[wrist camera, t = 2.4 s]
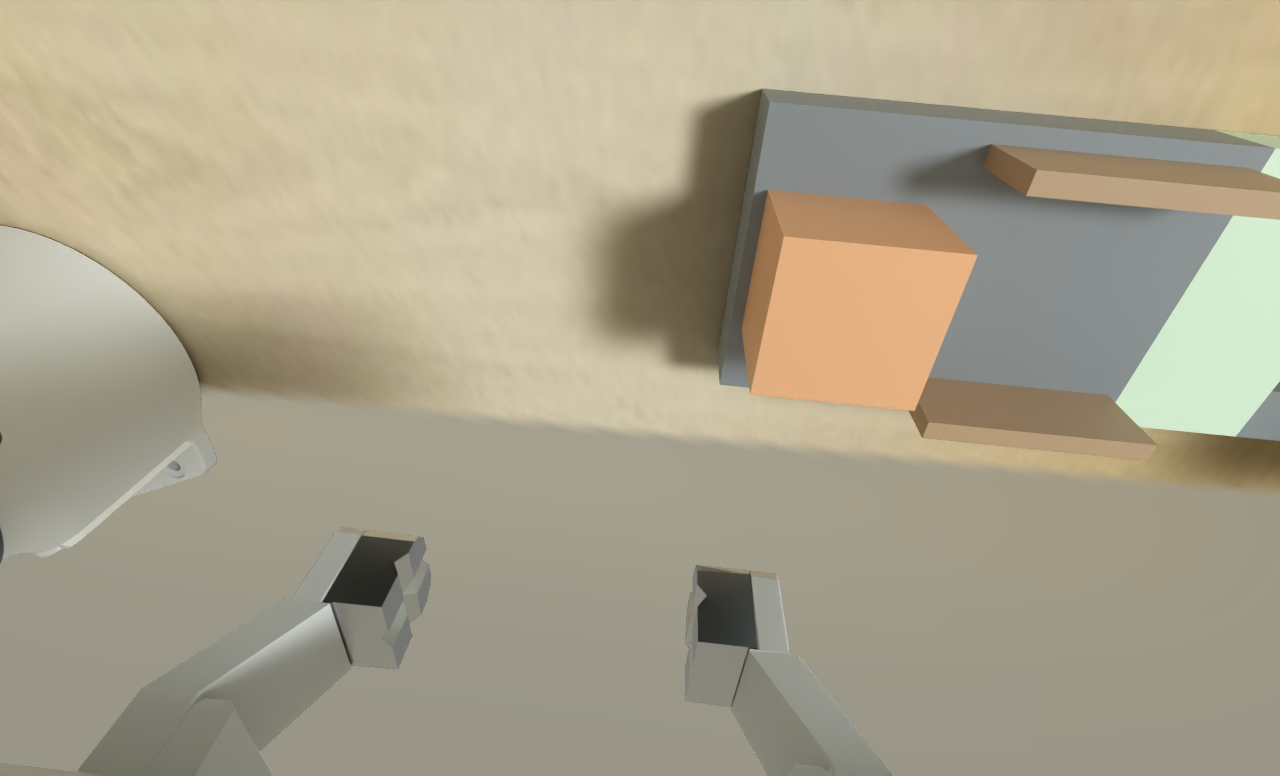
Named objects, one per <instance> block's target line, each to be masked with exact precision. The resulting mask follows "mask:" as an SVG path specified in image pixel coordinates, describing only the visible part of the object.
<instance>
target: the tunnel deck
mask: <svg viewBox="0 0 1280 776" xmlns="http://www.w3.org/2000/svg"><path fill="white" fill-rule="evenodd" d="M768 190H775V191H785V192H796V193H806V194H817V195H827V196H838V197H848V198H859V199H870V200H880V201H891V202H901V203H912V204H922V205H927V206H928V207H929V208H930V209H931V210H932V211H933V212H934V213H935V214H936V215H938V216H939V217H940V218H941V219H942V220H943V221H944V222H945V223H946V224H947V225H948V226H949V227H950V228H951V229H952V230H953V231H954V232H955V233H956V234H957V235H958V236H959V237H960V238H961V239H962V240H963V241H964V242H965V243H966V244H967V245H968V246H969V247H970V248H971V249H972V250H973V251H974V252H975V253H976V254H977V255H978V256H977V259H976V261H975V264H974V266H973V268H972V271H971V273H970V276H969V278H968V281H967V283H966V286H965V288H964V291H963V293H962V296H961V298H960V300H959V303H958V305H957V308H956V310H955V313H954V315H953V318H952V320H951V323H950V325H949V328H948V330H947V332H946V335H945V337H944V340H943V342H942V345H941V347H940V350H939V352H938V355H937V357H936V360H935V362H934V364H933V367H932V369H931V372H930V374H929V377H928V379H927V382H926V384H925V387H924V389H923V392H922V394H921V396H920V399H919V401H918V404H917V406H916V409H915V411H911V410H909V412H910V414H911V416H912V418H913V420H914V422H915V424H916V426H917V428H918V430H919V432H920V434H921V436H922V438H928V439H937V440H947V441H957V442H967V443H977V444H986V445H996V446H1006V447H1016V448H1026V449H1036V450H1045V451H1055V452H1065V453H1075V454H1085V455H1094V456H1104V457H1114V458H1124V459H1134V460H1144V461H1147V460H1148V458H1149V457H1150V455H1151V454H1152V453H1153V451H1154V450H1155V448H1156V447H1157V446H1158V445H1157V444H1156V443H1155V442H1154V441H1153V440H1152V439H1151V438H1150V437H1149V436H1148V435H1147V434H1146V433H1145V432H1144V431H1143V430H1142V429H1141V428H1140V427H1145V428H1155V429H1165V430H1175V431H1185V432H1195V433H1205V434H1215V435H1225V436H1235V437H1245V438H1255V439H1264V440H1274V441H1280V136H1272V135H1261V134H1250V133H1239V132H1228V131H1217V130H1206V129H1195V128H1184V127H1173V126H1162V125H1152V124H1141V123H1130V122H1119V121H1108V120H1097V119H1086V118H1075V117H1064V116H1053V115H1042V114H1032V113H1021V112H1010V111H999V110H988V109H977V108H966V107H955V106H944V105H933V104H922V103H912V102H901V101H890V100H879V99H868V98H857V97H846V96H835V95H824V94H813V93H802V92H792V91H781V90H770V89H762V91H761V97H760V103H759V109H758V115H757V121H756V127H755V133H754V139H753V145H752V151H751V157H750V162H749V168H748V174H747V180H746V186H745V192H744V198H743V204H742V210H741V216H740V222H739V228H738V234H737V240H736V246H735V251H734V257H733V263H732V269H731V275H730V281H729V287H728V293H727V299H726V305H725V311H724V317H723V323H722V329H721V335H720V341H719V346H718V364H719V380H720V385H729V386H739V387H749V381H748V374H747V367H746V359H745V352H744V345H743V337H742V330H741V328H742V323H743V318H744V312H745V307H746V302H747V297H748V291H749V286H750V281H751V275H752V270H753V265H754V260H755V254H756V249H757V244H758V238H759V233H760V228H761V223H762V217H763V212H764V207H765V201H766V196H767V191H768Z"/></svg>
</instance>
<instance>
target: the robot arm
mask: <svg viewBox="0 0 1280 776" xmlns="http://www.w3.org/2000/svg"><path fill="white" fill-rule="evenodd" d="M216 460H217V458H216V454H215V451H214V448H213V446H212V444H211V442H210V440H209V438H208V436H207V434H206V432H205V430H204V428H203V426H202V421H201V391H200V385H199V382H198V378H197V375H196V372H195V369H194V367H193V364H192V362H191V360H190V358H189V356H188V354H187V352H186V350H185V349H184V347H183V345H182V344H181V342H180V341H179V339H178V338H177V336H176V335H175V333H174V332H173V331H172V329H171V328H170V327H169V325H168V324H167V323H166V322H165V321H164V319H163V318H162V317H161V316H160V315H159V314H158V313H157V312H156V310H155V309H154V308H153V307H152V306H151V305H150V304H149V303H148V302H147V301H146V300H145V299H144V298H142V297H141V296H140V295H139V294H138V293H137V292H136V291H135V290H133V289H132V288H131V287H130V286H129V285H127V284H126V283H125V282H124V281H122V280H121V279H120V278H118V277H117V276H116V275H114V274H113V273H112V272H110V271H109V270H107V269H106V268H104V267H103V266H101V265H100V264H98V263H97V262H95V261H93V260H92V259H90V258H88V257H86V256H85V255H83V254H81V253H79V252H77V251H75V250H74V249H72V248H70V247H67V246H65V245H63V244H61V243H59V242H56V241H54V240H52V239H49V238H47V237H44V236H41V235H38V234H35V233H32V232H28V231H25V230H21V229H17V228H13V227H7V226H1V225H0V563H1V561H2V559H4V558H7V557H10V556H14V555H21V554H31V553H33V554H35V555H36V556H37V557H41V558H45V557H48V556H50V555H52V554H54V553H55V552H57V551H58V550H60V549H61V548H62V549H67V548H70V547H71V546H73V545H75V544H76V543H77V542H79V541H80V540H81V539H83V538H84V537H85V536H86V535H87V534H89V533H90V532H91V531H92V530H93V529H94V528H96V527H97V526H98V525H99V524H100V523H101V522H102V521H104V520H105V519H106V518H107V517H108V516H110V515H111V514H112V513H113V512H114V511H115V510H116V509H118V508H119V507H120V506H121V505H122V504H123V503H124V502H125V501H127V500H128V499H129V498H131V497H134V496H138V495H141V494H144V493H147V492H150V491H153V490H157V489H160V488H163V487H167V486H170V485H173V484H176V483H180V482H182V481H186V480H189V479H192V478H196V477H199V476H201V475H203V474H204V473H205V472H207V471H208V470H209V469H210V468H211V467H213V466H214V465H215V463H216ZM425 552H426V545H425V541H424V537H419V536H412V535H404V534H397V533H390V532H382V531H375V530H366V529H357V528H349V527H341V528H340V529H339V530H337V531H336V532H335V533H334V534H333V536H332V537H331V539H330V540H329V542H328V543H327V545H326V546H325V548H324V549H323V551H322V552H321V554H320V556H319V557H318V559H317V560H316V562H315V563H314V565H313V566H312V568H311V569H310V571H309V573H308V574H307V576H306V577H305V579H304V580H303V582H302V584H301V585H300V586H299V588H298V590H297V591H296V593H295V594H294V596H293V597H292V599H286V598H283V599H282V600H280V601H278V602H277V603H275V604H274V605H272V606H270V607H269V608H267V609H266V610H264V611H262V612H261V613H259V614H258V615H256V616H255V617H253V618H251V619H250V620H248V621H247V622H245V623H244V624H242V625H240V626H239V627H237V628H236V629H234V630H233V631H231V632H229V633H228V634H226V635H225V636H223V637H221V638H220V639H219V640H217V641H215V642H213V643H212V644H210V645H209V646H207V647H206V648H204V649H202V650H201V651H199V652H198V653H196V654H195V655H193V656H191V657H190V658H188V659H187V660H185V661H184V662H182V663H180V664H179V665H177V666H176V667H174V668H172V669H171V670H169V671H168V672H166V673H164V674H163V675H161V676H160V677H158V678H157V679H155V680H154V681H152V682H150V683H149V684H147V685H146V686H144V687H142V688H141V689H140V691H139V692H138V693H137V695H136V696H135V697H134V698H133V700H132V701H131V702H130V704H129V705H128V706H127V707H126V709H125V710H124V712H123V713H122V714H121V715H120V717H119V718H118V719H117V720H116V722H115V723H114V724H113V726H112V727H111V728H110V729H109V731H108V732H107V733H106V735H105V736H104V737H103V738H102V740H101V741H100V742H99V743H98V745H97V746H96V747H95V749H94V750H93V751H92V753H91V754H90V755H89V756H88V758H87V759H86V760H85V761H84V763H83V764H82V765H81V767H80V768H79V769H78V770H77V772H75V771H66V770H57V769H48V768H40V767H30V766H22V765H13V764H4V763H0V776H273V773H272V771H271V770H270V768H269V766H268V764H267V763H266V761H265V759H264V757H263V756H262V754H261V752H260V751H261V750H262V749H263V748H264V747H265V746H266V745H268V744H269V743H270V742H271V741H272V740H273V739H274V738H275V737H276V736H278V735H279V734H280V733H281V732H282V731H283V730H284V729H285V728H286V727H287V726H289V725H290V724H291V723H292V722H293V721H294V720H295V719H296V718H297V717H298V716H300V715H301V714H302V713H303V712H304V711H305V710H306V709H307V708H308V707H310V706H311V705H312V704H313V703H314V702H315V701H316V700H317V699H318V698H319V697H320V696H322V695H323V694H324V693H325V692H326V691H327V690H328V689H329V688H331V687H332V686H333V685H334V684H335V683H336V682H337V681H338V680H339V679H340V678H342V677H343V676H344V675H345V674H346V673H347V672H348V671H349V670H350V669H351V666H362V667H374V668H387V669H398V668H399V665H400V664H401V661H402V659H403V657H404V654H405V652H406V650H407V647H408V645H409V643H410V640H411V638H412V633H411V628H410V623H411V622H413V621H414V620H415V619H417V618H418V617H419V616H420V615H421V614H422V612H423V609H424V607H425V605H426V602H427V598H428V594H429V590H430V584H431V583H430V582H431V573H430V566H429V564H427V563H426V562H425V561H424V560H423V559H422V558H423V556H424V554H425ZM692 584H693V586H692V589H693V590H692V592H691V593H690V594H689V600H688V608H687V616H686V637H685V638H686V639H685V640H686V641H685V644H686V645H687V647H688V648H689V649H688V654H687V659H686V664H685V701H688V702H695V703H702V704H709V705H717V706H724V707H731V708H732V709H731V711H732V713H733V714H734V716H735V718H736V720H737V722H738V723H739V725H740V727H741V729H742V730H743V732H744V734H745V736H746V738H747V740H748V741H749V743H750V745H751V747H752V748H753V750H754V752H755V754H756V756H757V758H758V759H759V761H760V763H761V765H762V767H763V768H764V770H765V772H766V774H767V776H892V774H891V772H890V771H889V769H888V768H887V767H886V766H885V764H884V763H883V762H882V760H881V759H880V758H879V757H878V755H877V754H876V753H875V752H874V750H873V749H872V748H871V747H870V745H869V744H868V743H867V742H866V740H865V739H864V738H863V736H862V735H861V734H860V733H859V731H858V730H857V729H856V728H855V726H854V725H853V724H852V722H851V721H850V720H849V719H848V717H847V716H846V715H845V714H844V713H843V711H842V710H841V709H840V707H839V706H838V705H837V704H836V702H835V701H834V700H833V698H832V697H831V696H830V695H829V693H828V692H827V691H826V690H825V688H824V687H823V686H822V684H821V683H820V682H819V681H818V680H817V678H816V677H815V676H814V674H813V673H812V672H811V671H810V669H809V668H808V667H807V665H806V664H805V663H804V662H803V660H802V659H801V658H800V657H799V656H798V654H792V653H789V647H788V640H787V633H786V626H785V619H784V614H783V613H784V612H783V606H782V599H781V592H780V586H779V579H778V577H777V575H776V573H767V572H758V571H748V570H744V569H733V568H722V567H711V566H701V565H696V566H695V569H694V573H693V583H692Z"/></svg>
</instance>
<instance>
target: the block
mask: <svg viewBox="0 0 1280 776" xmlns="http://www.w3.org/2000/svg"><path fill="white" fill-rule="evenodd" d="M977 256H978V255H977V254H976V253H975V252H974V251H973V250H972V249H971V248H970V247H969V246H968V245H967V244H966V243H965V242H964V241H963V240H962V239H961V238H960V237H959V236H958V235H957V234H956V233H955V232H954V231H953V230H952V229H951V228H950V227H949V226H948V225H947V224H946V223H945V222H944V221H943V220H942V219H941V218H940V217H939V216H938V215H936V214H935V213H934V212H933V211H932V210H931V209H930V208H929V207H928V206H927V205H922V204H912V203H901V202H891V201H880V200H870V199H859V198H848V197H838V196H827V195H817V194H806V193H796V192H785V191H775V190H768V191H767V196H766V201H765V207H764V212H763V217H762V223H761V228H760V233H759V238H758V244H757V249H756V254H755V260H754V265H753V270H752V275H751V281H750V286H749V291H748V297H747V302H746V307H745V312H744V318H743V323H742V328H741V330H742V337H743V345H744V352H745V359H746V367H747V374H748V381H749V389H750V394H752V395H762V396H772V397H782V398H792V399H802V400H812V401H822V402H831V403H841V404H851V405H861V406H871V407H881V408H891V409H901V410H911V411H915V409H916V406H917V404H918V401H919V399H920V396H921V394H922V392H923V389H924V387H925V384H926V382H927V379H928V377H929V374H930V372H931V369H932V367H933V364H934V362H935V360H936V357H937V355H938V352H939V350H940V347H941V345H942V342H943V340H944V337H945V335H946V332H947V330H948V328H949V325H950V323H951V320H952V318H953V315H954V313H955V310H956V308H957V305H958V303H959V300H960V298H961V296H962V293H963V291H964V288H965V286H966V283H967V281H968V278H969V276H970V273H971V271H972V268H973V266H974V264H975V261H976V259H977Z"/></svg>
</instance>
